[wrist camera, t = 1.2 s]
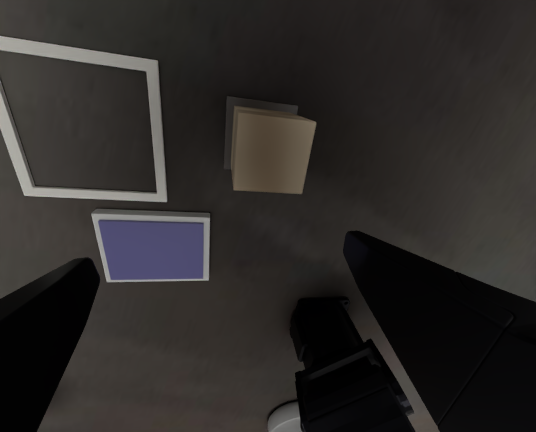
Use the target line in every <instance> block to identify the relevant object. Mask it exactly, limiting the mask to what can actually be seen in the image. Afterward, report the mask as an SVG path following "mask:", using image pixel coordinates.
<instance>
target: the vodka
mask: <svg viewBox="0 0 536 432" xmlns="http://www.w3.org/2000/svg"><path fill="white" fill-rule="evenodd" d="M268 432H302V431H301V428H300V414H299V406H298V401H295V402H291V403H287V404H285V405H283V406H281V407H279V408H278V409H276V410H275V411H274V412H273V413H272V415H271V416H270V417H269V420H268Z"/></svg>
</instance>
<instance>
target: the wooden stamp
mask: <svg viewBox="0 0 536 432" xmlns="http://www.w3.org/2000/svg"><path fill="white" fill-rule="evenodd" d="M297 111H298V106H296V105H290V104H283V103H276V102H268V101H261V100H254V99H246V98H239V97H231V96H227V101H226V125H225V148H224V169H227V170H232V180H233V190H240V191H257V192H274V193H292V194H302V191H303V186H304V181H305V176H306V171H307V166H308V161H309V157H310V152H311V147H312V142H313V137H314V132H315V127H316V122H315V121H312V120H309V119H306V118H304V117H301V116H298V115H297Z"/></svg>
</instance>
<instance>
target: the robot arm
mask: <svg viewBox="0 0 536 432" xmlns="http://www.w3.org/2000/svg"><path fill="white" fill-rule="evenodd" d="M343 253H344V256H345V259H346V261H347V263H348V266H349V268H350V270H351V272H352V275H353V277H354V279H355V282H356V284H357V286H358V288H359V290H360V292H361V294H362V296H363V297H364V299H365V301H366V303H367V304H368V306H369V308H370V310H371V311H372V313H373V315H374V317H375V318H376V320H377V322H378V324H379V325H380V327H381V329H382V331H383V332H384V334H385V336H386V338H387V339H388V341H389V343H390V345H391V346H392V348H393V350H394V352H395V353H396V355H397V357H398V359H399V361H400V362H401V364H402V366H403V368H404V369H405V371H406V373H407V375H408V376H409V378H410V380H411V382H412V383H413V385H414V387H415V389H416V390H417V392H418V394H419V396H420V397H421V399H422V401H423V403H424V404H425V406H426V408H427V410H428V411H429V413H430V415H431V417H432V418H433V420H434V422H435V424H436V425H437V426H438V429H439V431H440V432H536V302H534V301H531V300H528V299H526V298H523V297H520V296H517V295H515V294H512V293H509V292H507V291H504V290H501V289H499V288H496V287H493V286H491V285H488V284H486V283H483V282H481V281H478V280H476V279H473V278H471V277H468V276H466V275H464V274H461V273H459V272H455V271H454V270H451V269H449V268H447V267H444V266H442V265H439V264H437V263H435V262H432V261H430V260H427V259H425V258H423V257H420V256H418V255H415V254H413V253H411V252H408V251H406V250H403V249H401V248H399V247H396V246H394V245H391V244H389V243H387V242H384V241H382V240H379V239H377V238H375V237H372V236H370V235H367V234H365V233H363V232H360V231H348V232H347V233H346V236H345V242H344V248H343ZM99 284H100V276H99V274H98V271H97V269H96V267H95V265H94V262H93V261H92V259H91V258H88V257H87V258H77V259H74V260H72V261H70V262H68V263H66V264H64V265H62V266H61V267H59V268H57V269H55V270H53V271H51V272H49V273H47V274H46V275H44V276H42V277H40V278H38V279H36V280H34V281H33V282H31V283H29V284H27V285H25V286H23V287H21V288H20V289H18V290H16V291H14V292H12V293H10V294H8V295H7V296H5V297H3V298H1V299H0V432H37V430H38V428H39V426H40V424H41V422H42V419H43V417H44V415H45V413H46V411H47V409H48V406H49V404H50V402H51V400H52V398H53V395H54V393H55V391H56V389H57V387H58V385H59V382H60V380H61V378H62V376H63V374H64V372H65V369H66V367H67V365H68V363H69V361H70V358H71V356H72V354H73V352H74V350H75V348H76V345H77V343H78V341H79V339H80V337H81V335H82V332H83V330H84V328H85V325H86V322H87V320H88V317H89V314H90V311H91V308H92V305H93V302H94V299H95V296H96V293H97V290H98V287H99ZM302 303H303V304H302ZM349 304H350V301H349V299H348V298H321V299H301V300H299V301H298V304H297V308H296V312H295V315H294V316H293V319H292V323H291V327H290V335H291V338H292V339H293V343H294V347H295V350H296V354H297V358H298V360H299V361H300V362H303V363H304V366H305V370H303V371H298V372H296V373H295V377H296V381H295V384H296V391H297V399H298V406H299V414H300V428H301V431H302V432H415V430H414V428H413V426H412V425H411V423H410V421H409V419H408V417H407V416H409V415H411V414H414V411H413V409H412V407H411V405H410V403H409V401H408V399H407V397H406V395H405V393H404V392H403V390H402V388H401V386H400V385H399V383H398V381H397V379H396V378H395V376H394V374H393V373H392V371H391V370H390V368H389V366H388V365H387V363H386V362H385V360H384V358H383V357H382V355H381V354H380V352H379V351H378V349H377V347H376V346H375V344H374V343H373V341H372V339H368V340H366V341H367V342H363V340H362V338H361V337H360V335H359V333H358V331H357V329H356V328H355V326H354V324H353V322H352V320H351V318H350V317H349V315H348V313H347V309H348V306H349Z"/></svg>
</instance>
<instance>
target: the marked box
mask: <svg viewBox="0 0 536 432" xmlns="http://www.w3.org/2000/svg"><path fill="white" fill-rule="evenodd" d="M0 50H3V51H10V52H17V53H24V54H30V55H37V56H44V57H51V58H58V59H65V60H72V61H78V62H85V63H92V64H99V65H106V66H113V67H119V68H126V69H133V70H140V71H146V73H147V84H148V95H149V107H150V118H151V129H152V141H153V152H154V163H155V175H156V186H157V192H138V191H120V190H101V189H82V188H63V187H44V186H35V184H34V181H33V178H32V175H31V172H30V168H29V165H28V162H27V159H26V156H25V153H24V150H23V147H22V144H21V141H20V138H19V135H18V132H17V129H16V126H15V123H14V120H13V117H12V114H11V111H10V108H9V105H8V102H7V99H6V95H5V92H4V89H3V86H2V83H1V80H0V129H1V132H2V134H3V137H4V140H5V143H6V146H7V148H8V151H9V154H10V157H11V160H12V162H13V165H14V168H15V171H16V174H17V176H18V179H19V182H20V185H21V188H22V190H23V193H24V196H41V197H63V198H85V199H107V200H129V201H151V202H167V201H168V198H167V183H166V169H165V154H164V139H163V125H162V110H161V96H160V81H159V66H158V61H157V60H151V59H144V58H138V57H132V56H125V55H119V54H112V53H106V52H100V51H93V50H87V49H80V48H74V47H67V46H61V45H55V44H48V43H42V42H35V41H29V40H23V39H16V38H10V37H3V36H0Z"/></svg>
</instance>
